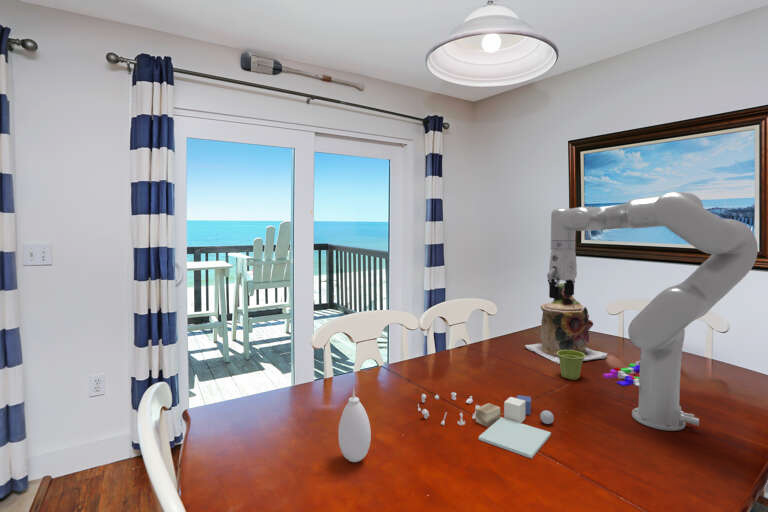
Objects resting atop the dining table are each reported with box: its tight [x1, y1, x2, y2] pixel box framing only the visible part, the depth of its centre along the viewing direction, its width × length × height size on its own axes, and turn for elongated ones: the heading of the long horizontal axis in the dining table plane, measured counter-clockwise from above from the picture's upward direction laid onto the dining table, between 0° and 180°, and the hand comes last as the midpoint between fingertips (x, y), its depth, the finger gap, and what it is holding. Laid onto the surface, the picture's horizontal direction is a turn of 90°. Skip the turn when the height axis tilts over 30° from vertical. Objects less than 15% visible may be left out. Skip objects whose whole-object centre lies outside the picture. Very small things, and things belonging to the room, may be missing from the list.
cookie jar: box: [524, 282, 608, 365], centre depth 175 cm, size 25×25×32 cm
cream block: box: [503, 396, 526, 424], centre depth 117 cm, size 4×4×6 cm
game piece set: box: [417, 391, 481, 426], centre depth 124 cm, size 19×20×4 cm
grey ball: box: [539, 409, 555, 425], centre depth 115 cm, size 4×4×4 cm
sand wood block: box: [475, 402, 501, 428], centre depth 117 cm, size 4×6×4 cm, turn 128°
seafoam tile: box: [478, 416, 552, 459], centre depth 108 cm, size 14×14×1 cm
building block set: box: [602, 360, 640, 388], centre depth 147 cm, size 25×20×4 cm
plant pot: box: [557, 350, 585, 380], centre depth 149 cm, size 9×9×9 cm
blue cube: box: [516, 394, 532, 416], centre depth 123 cm, size 4×4×4 cm
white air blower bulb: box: [337, 387, 372, 463], centre depth 98 cm, size 8×8×18 cm
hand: (561, 296), depth 137 cm, fingers open, 9 cm apart
